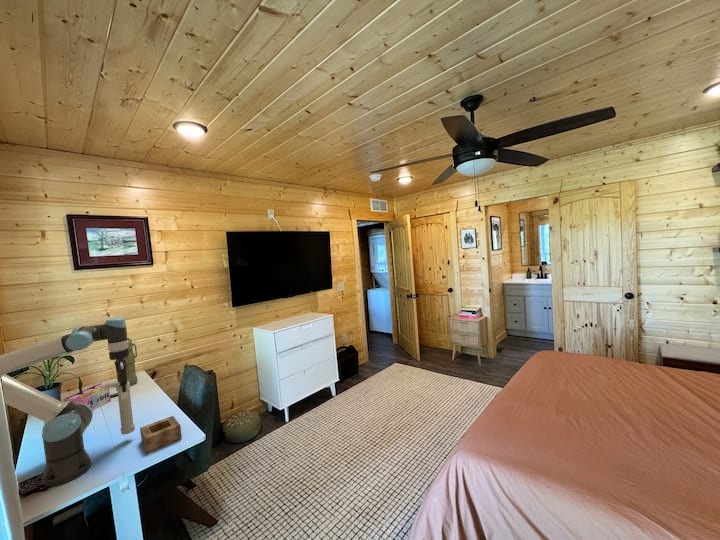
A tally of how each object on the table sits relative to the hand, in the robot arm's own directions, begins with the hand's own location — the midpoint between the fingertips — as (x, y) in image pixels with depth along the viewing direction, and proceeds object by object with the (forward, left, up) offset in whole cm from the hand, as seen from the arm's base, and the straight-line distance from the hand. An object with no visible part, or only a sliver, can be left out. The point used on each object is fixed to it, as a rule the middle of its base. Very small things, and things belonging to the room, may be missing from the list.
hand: (123, 396), depth 148 cm
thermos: (+12, +90, -23) cm, 94 cm away
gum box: (-11, +64, -23) cm, 69 cm away
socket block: (+11, -13, -23) cm, 28 cm away
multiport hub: (+3, +75, -23) cm, 79 cm away
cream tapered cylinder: (0, 0, -18) cm, 18 cm away
